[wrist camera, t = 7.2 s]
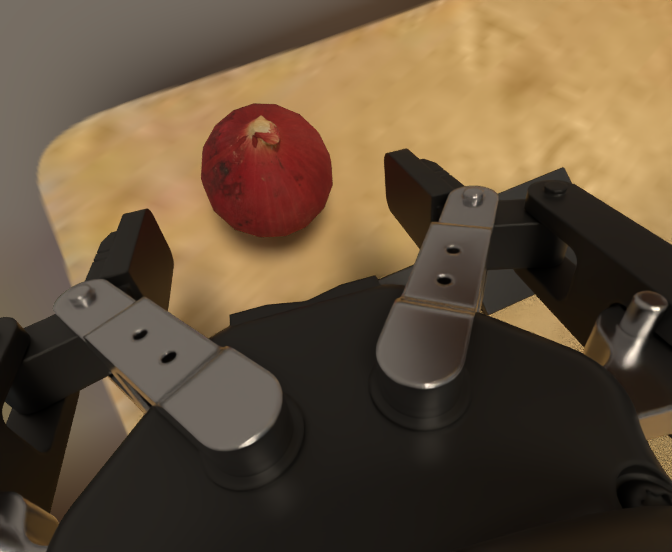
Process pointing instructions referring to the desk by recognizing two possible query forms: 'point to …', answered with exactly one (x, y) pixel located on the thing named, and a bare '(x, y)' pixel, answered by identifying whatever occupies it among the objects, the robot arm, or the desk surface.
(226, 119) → the onion
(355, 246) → the desk surface
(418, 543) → the robot arm
